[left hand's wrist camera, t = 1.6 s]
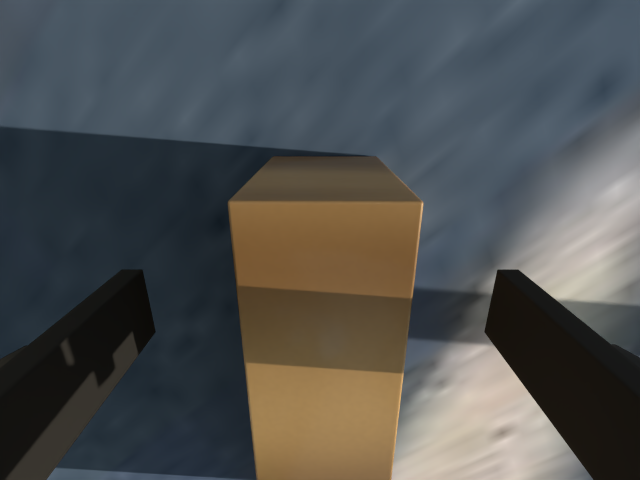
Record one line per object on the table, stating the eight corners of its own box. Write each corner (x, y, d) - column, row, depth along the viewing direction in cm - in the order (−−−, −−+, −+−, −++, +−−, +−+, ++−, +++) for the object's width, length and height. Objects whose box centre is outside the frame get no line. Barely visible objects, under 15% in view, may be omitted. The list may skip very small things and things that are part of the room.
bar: (271, 155, 16) (226, 201, 9) (377, 156, 16) (424, 201, 9) (288, 482, 25) (273, 647, 18) (357, 483, 25) (371, 649, 17)
